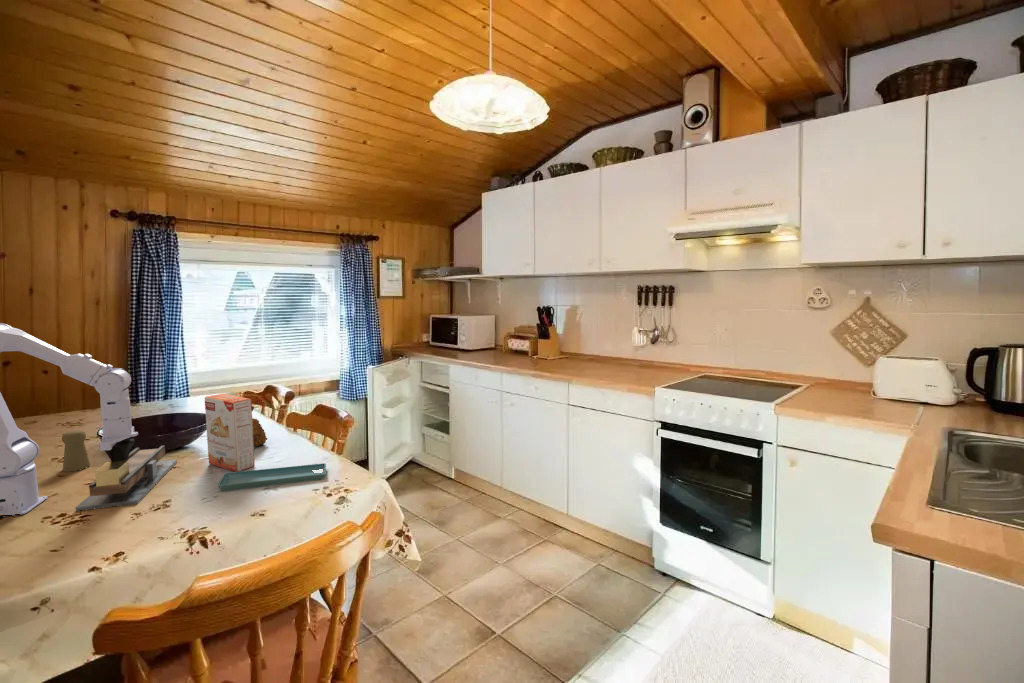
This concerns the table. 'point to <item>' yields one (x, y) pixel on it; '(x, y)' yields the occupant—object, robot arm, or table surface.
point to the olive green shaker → (75, 451)
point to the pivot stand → (135, 492)
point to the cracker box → (229, 432)
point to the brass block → (112, 473)
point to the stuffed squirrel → (258, 433)
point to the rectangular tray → (270, 476)
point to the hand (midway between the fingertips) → (120, 469)
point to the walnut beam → (130, 471)
